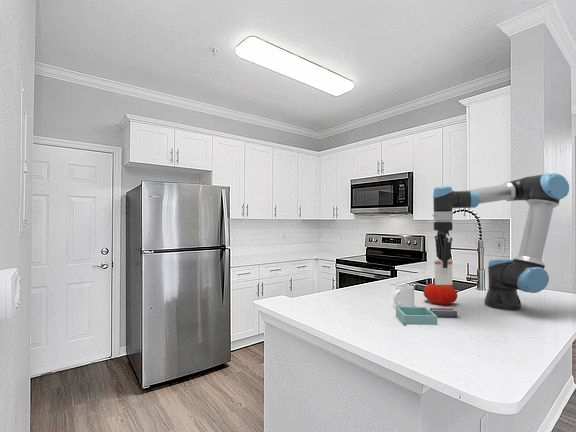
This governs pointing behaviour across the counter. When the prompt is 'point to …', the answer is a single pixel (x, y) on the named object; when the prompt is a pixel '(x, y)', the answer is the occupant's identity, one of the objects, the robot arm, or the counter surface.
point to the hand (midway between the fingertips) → (443, 274)
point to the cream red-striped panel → (443, 278)
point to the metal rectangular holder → (444, 312)
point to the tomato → (440, 294)
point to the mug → (404, 295)
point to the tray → (416, 315)
